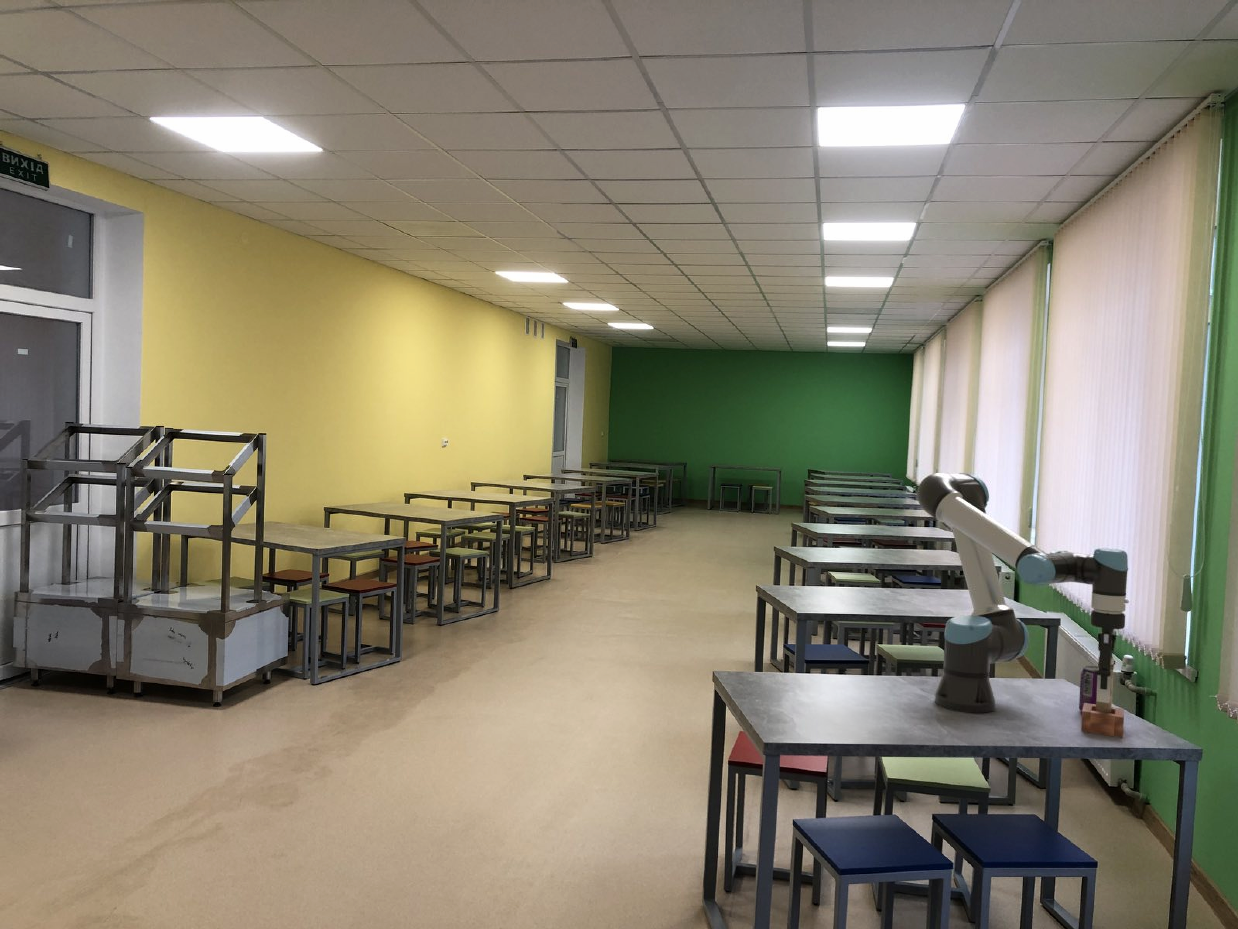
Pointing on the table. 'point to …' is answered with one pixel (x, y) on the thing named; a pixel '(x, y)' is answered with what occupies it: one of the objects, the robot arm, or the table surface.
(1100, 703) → the wooden dowel rod
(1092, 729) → the brown hollow square block
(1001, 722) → the table surface
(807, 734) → the table surface
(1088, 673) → the beverage can
